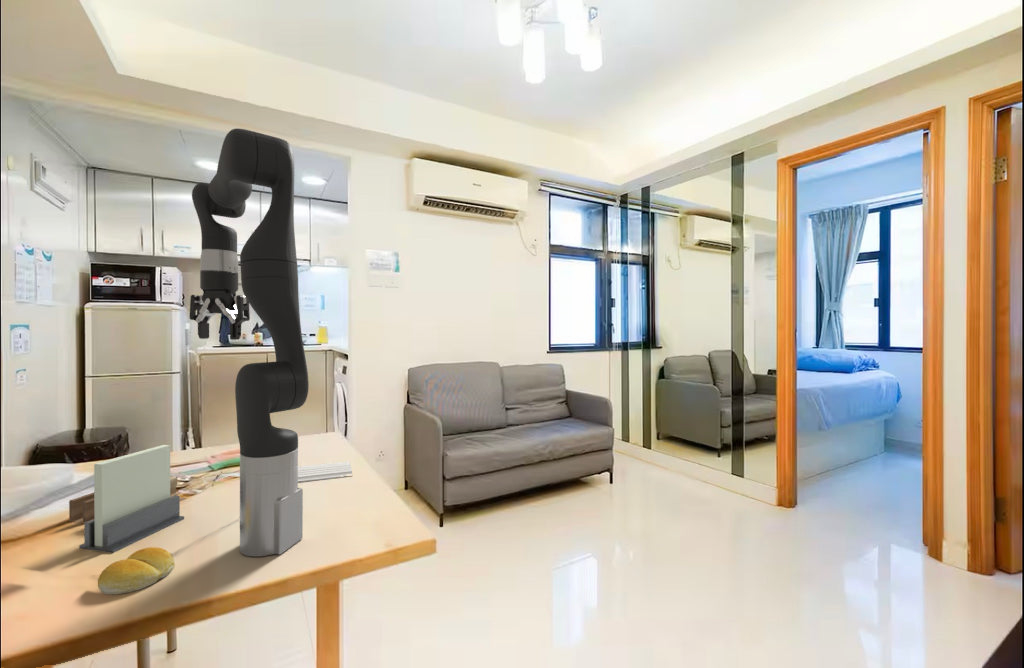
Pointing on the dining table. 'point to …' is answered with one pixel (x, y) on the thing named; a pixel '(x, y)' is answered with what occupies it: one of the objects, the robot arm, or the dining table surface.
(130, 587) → the bread roll
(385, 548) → the dining table surface
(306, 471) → the baseboard molding
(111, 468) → the sage panel
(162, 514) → the grey stand
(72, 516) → the walnut rack
